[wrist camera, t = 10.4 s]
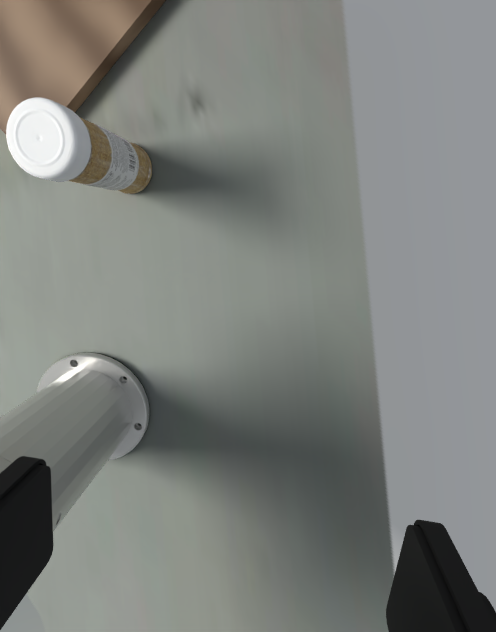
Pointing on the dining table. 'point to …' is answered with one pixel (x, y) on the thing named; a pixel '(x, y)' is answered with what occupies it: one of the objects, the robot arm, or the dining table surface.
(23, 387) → the dining table surface
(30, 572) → the robot arm
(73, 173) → the sprinkles bottle
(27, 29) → the dial board
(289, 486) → the dining table surface
